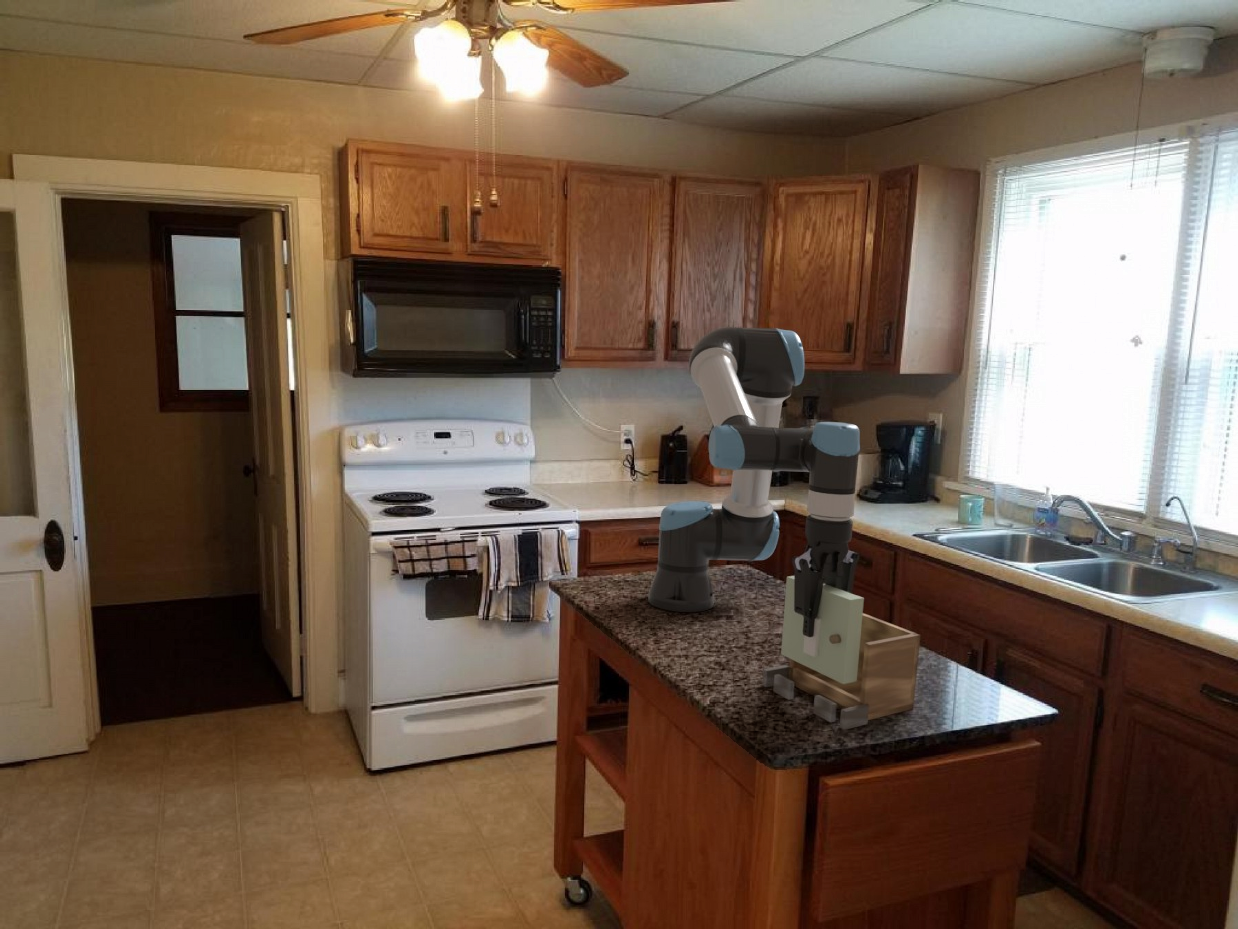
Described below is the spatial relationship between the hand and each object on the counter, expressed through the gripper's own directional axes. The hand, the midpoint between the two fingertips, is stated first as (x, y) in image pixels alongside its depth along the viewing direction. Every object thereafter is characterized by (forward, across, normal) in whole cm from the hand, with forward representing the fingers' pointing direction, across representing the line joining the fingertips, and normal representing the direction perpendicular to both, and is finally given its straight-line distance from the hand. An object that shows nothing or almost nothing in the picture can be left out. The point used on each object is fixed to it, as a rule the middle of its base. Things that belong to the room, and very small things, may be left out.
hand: (818, 652), depth 150 cm
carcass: (+9, -6, 0) cm, 11 cm away
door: (+3, 0, 0) cm, 3 cm away
